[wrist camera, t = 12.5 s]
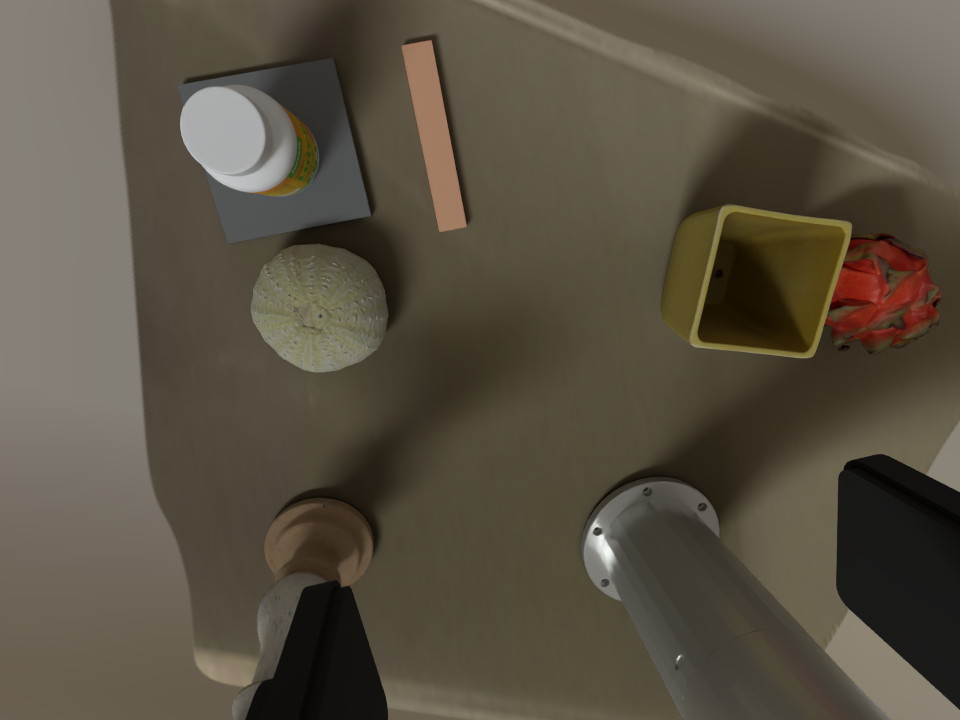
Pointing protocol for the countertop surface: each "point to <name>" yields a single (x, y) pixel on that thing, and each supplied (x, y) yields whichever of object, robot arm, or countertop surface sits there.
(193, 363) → the countertop surface
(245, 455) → the countertop surface
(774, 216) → the flower pot
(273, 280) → the sea urchin shell
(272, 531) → the candle holder
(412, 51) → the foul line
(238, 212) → the pad
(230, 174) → the supplement bottle
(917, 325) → the dragon fruit
